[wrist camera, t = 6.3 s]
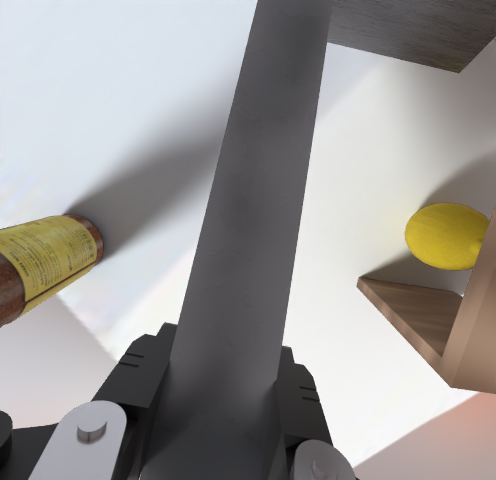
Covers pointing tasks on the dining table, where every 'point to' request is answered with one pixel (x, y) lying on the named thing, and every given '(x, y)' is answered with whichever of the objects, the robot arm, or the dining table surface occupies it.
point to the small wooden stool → (448, 321)
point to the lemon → (446, 235)
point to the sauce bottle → (43, 260)
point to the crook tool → (273, 220)
